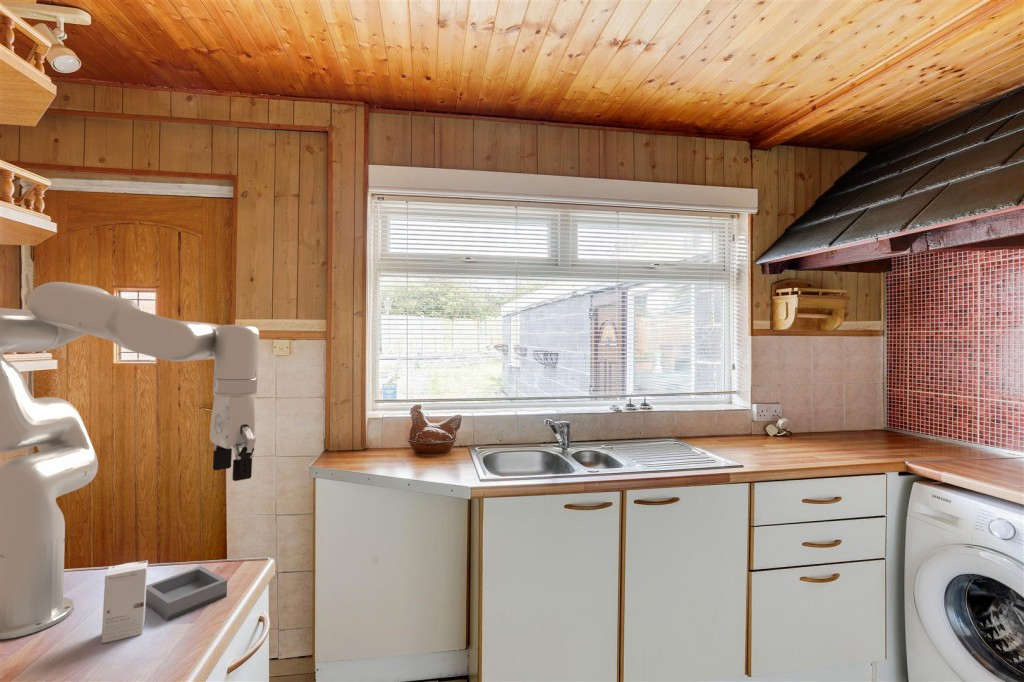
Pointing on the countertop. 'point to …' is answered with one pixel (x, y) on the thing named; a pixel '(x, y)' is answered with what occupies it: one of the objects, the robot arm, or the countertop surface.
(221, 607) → the countertop surface
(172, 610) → the tray
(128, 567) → the skincare box
